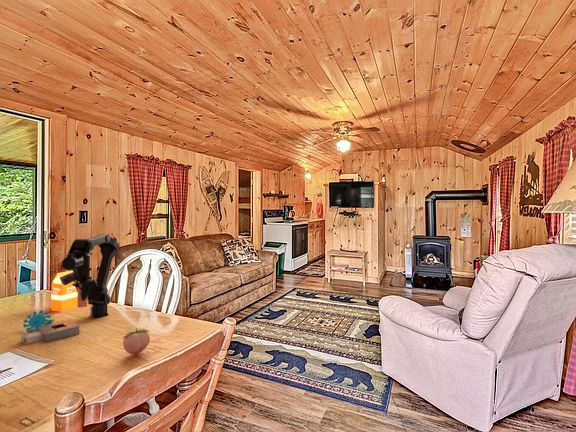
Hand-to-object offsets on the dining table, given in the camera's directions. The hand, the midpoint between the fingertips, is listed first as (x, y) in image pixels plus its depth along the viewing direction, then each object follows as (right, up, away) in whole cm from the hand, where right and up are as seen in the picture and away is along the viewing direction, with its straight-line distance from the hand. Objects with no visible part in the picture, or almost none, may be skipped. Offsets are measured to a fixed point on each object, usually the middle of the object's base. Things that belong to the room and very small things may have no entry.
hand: (82, 299), depth 145 cm
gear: (-17, -12, -4) cm, 21 cm away
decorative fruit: (+37, -14, -26) cm, 48 cm away
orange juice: (-26, -12, +25) cm, 37 cm away
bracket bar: (-10, -13, -16) cm, 23 cm away
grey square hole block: (-4, -13, -9) cm, 16 cm away
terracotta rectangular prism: (0, -3, 0) cm, 3 cm away
